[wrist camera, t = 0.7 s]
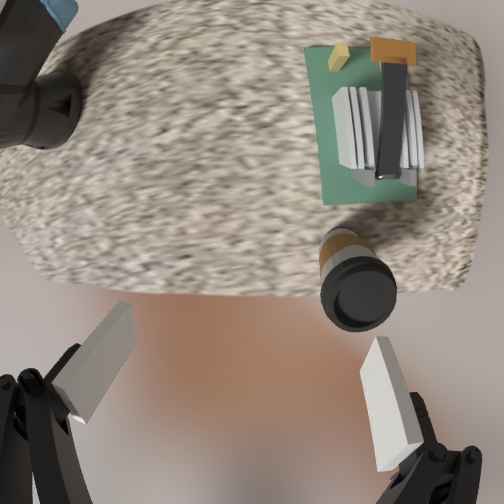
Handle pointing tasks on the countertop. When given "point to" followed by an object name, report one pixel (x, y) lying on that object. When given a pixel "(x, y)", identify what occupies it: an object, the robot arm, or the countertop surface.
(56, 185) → the countertop surface
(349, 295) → the coffee cup
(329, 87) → the heatsink base
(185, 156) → the countertop surface
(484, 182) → the countertop surface
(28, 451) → the robot arm
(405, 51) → the strap
